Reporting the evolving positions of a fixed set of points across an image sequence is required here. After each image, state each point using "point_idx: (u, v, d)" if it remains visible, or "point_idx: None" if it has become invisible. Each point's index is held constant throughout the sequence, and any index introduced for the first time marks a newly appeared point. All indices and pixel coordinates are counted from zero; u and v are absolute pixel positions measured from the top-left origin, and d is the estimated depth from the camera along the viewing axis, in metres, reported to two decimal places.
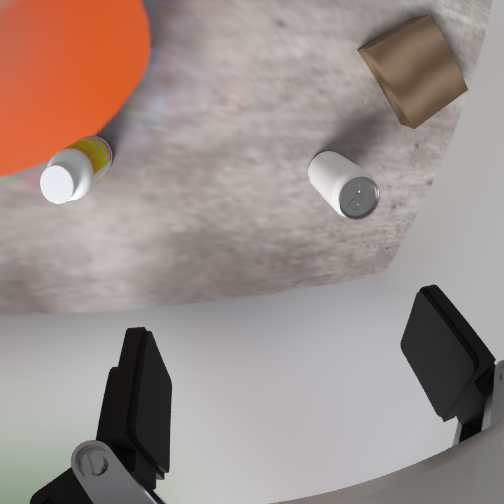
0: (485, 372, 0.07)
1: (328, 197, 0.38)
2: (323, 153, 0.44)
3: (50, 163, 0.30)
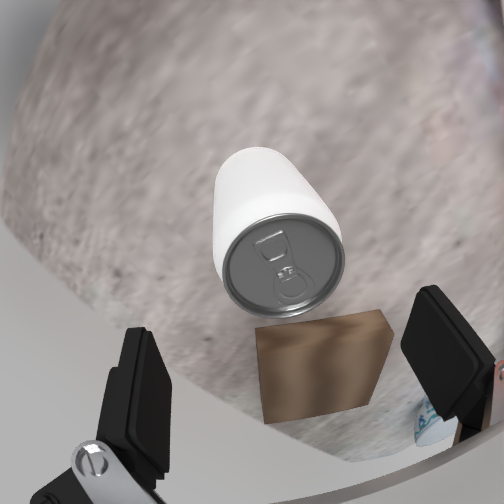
0: (485, 372, 0.07)
1: (301, 187, 0.15)
2: None
3: None
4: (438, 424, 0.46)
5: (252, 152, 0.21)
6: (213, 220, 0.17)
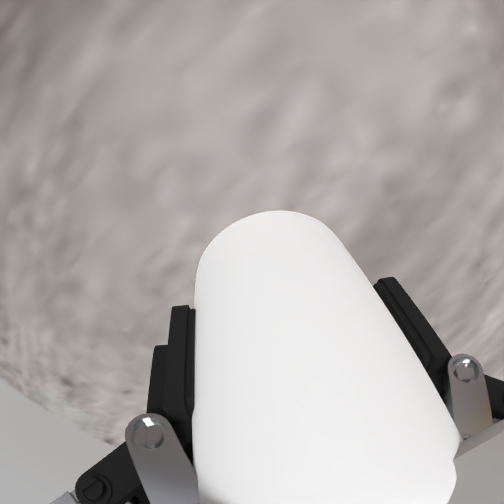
0: (439, 365, 0.07)
1: (430, 435, 0.04)
2: None
3: None
4: None
5: (270, 234, 0.10)
6: (192, 435, 0.07)
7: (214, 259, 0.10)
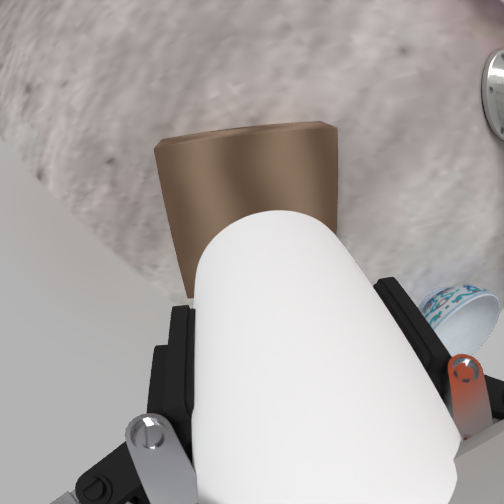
0: (439, 365, 0.07)
1: (430, 435, 0.04)
2: None
3: None
4: None
5: (270, 234, 0.10)
6: None
7: (214, 259, 0.10)
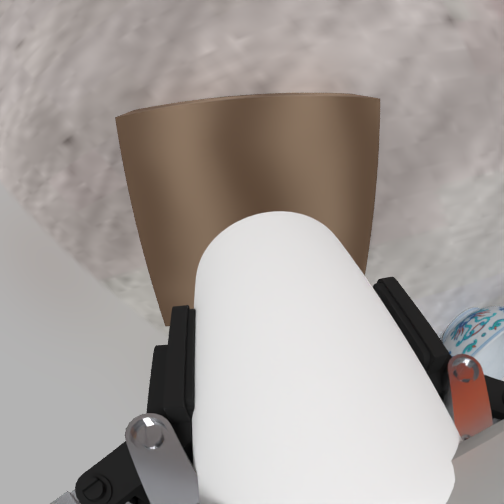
0: (439, 365, 0.07)
1: (430, 436, 0.04)
2: None
3: None
4: None
5: (270, 235, 0.10)
6: (192, 435, 0.07)
7: (214, 260, 0.10)
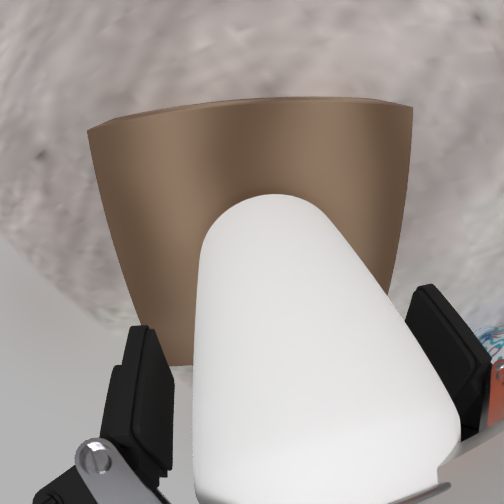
0: (482, 371, 0.07)
1: (409, 368, 0.05)
2: None
3: None
4: None
5: (268, 211, 0.11)
6: None
7: (217, 234, 0.12)
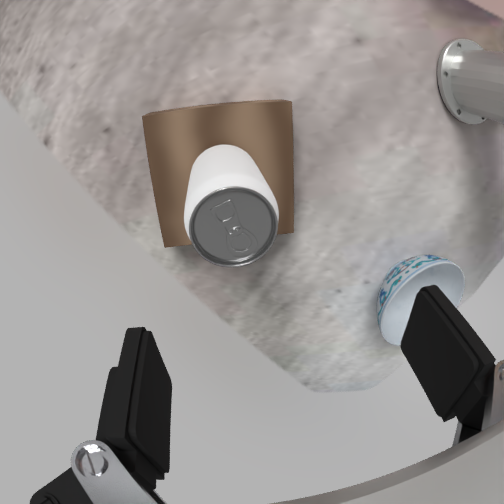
0: (485, 372, 0.07)
1: (247, 171, 0.20)
2: None
3: None
4: None
5: (218, 148, 0.26)
6: None
7: (198, 159, 0.27)
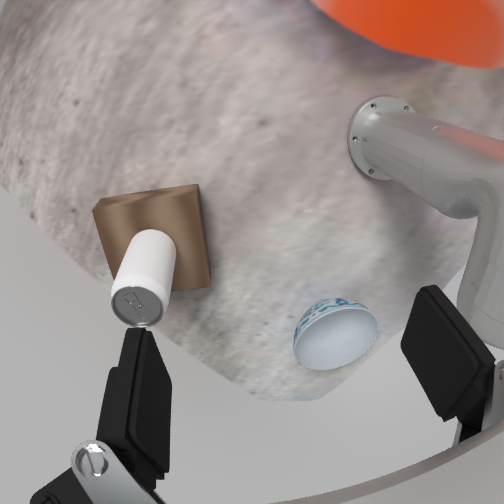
0: (485, 372, 0.07)
1: (145, 269, 0.31)
2: None
3: None
4: (334, 350, 0.55)
5: (142, 236, 0.37)
6: None
7: (130, 243, 0.37)
